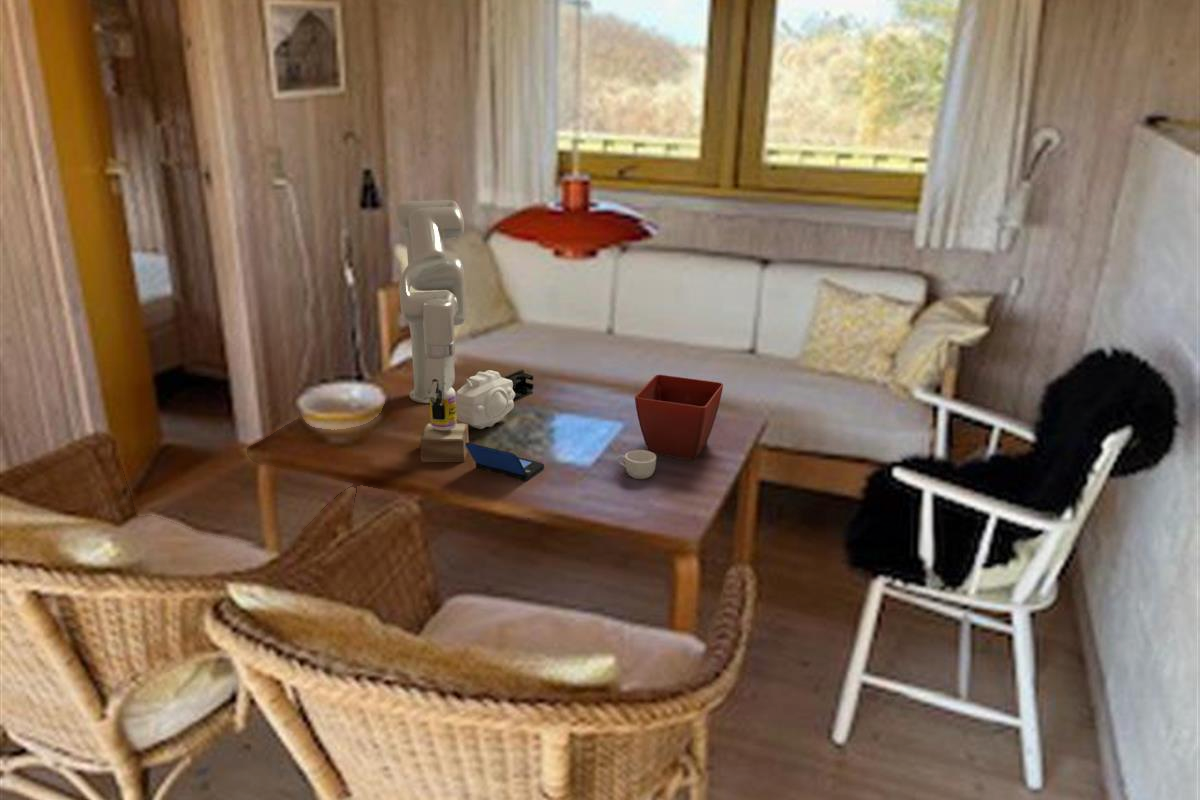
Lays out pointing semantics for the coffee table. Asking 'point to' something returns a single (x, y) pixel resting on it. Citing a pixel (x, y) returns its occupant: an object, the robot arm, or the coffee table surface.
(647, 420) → the plant pot
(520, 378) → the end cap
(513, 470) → the handheld game console
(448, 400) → the supplement bottle
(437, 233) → the robot arm
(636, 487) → the coffee table surface
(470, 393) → the camera
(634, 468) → the teacup
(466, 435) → the pale wooden block
